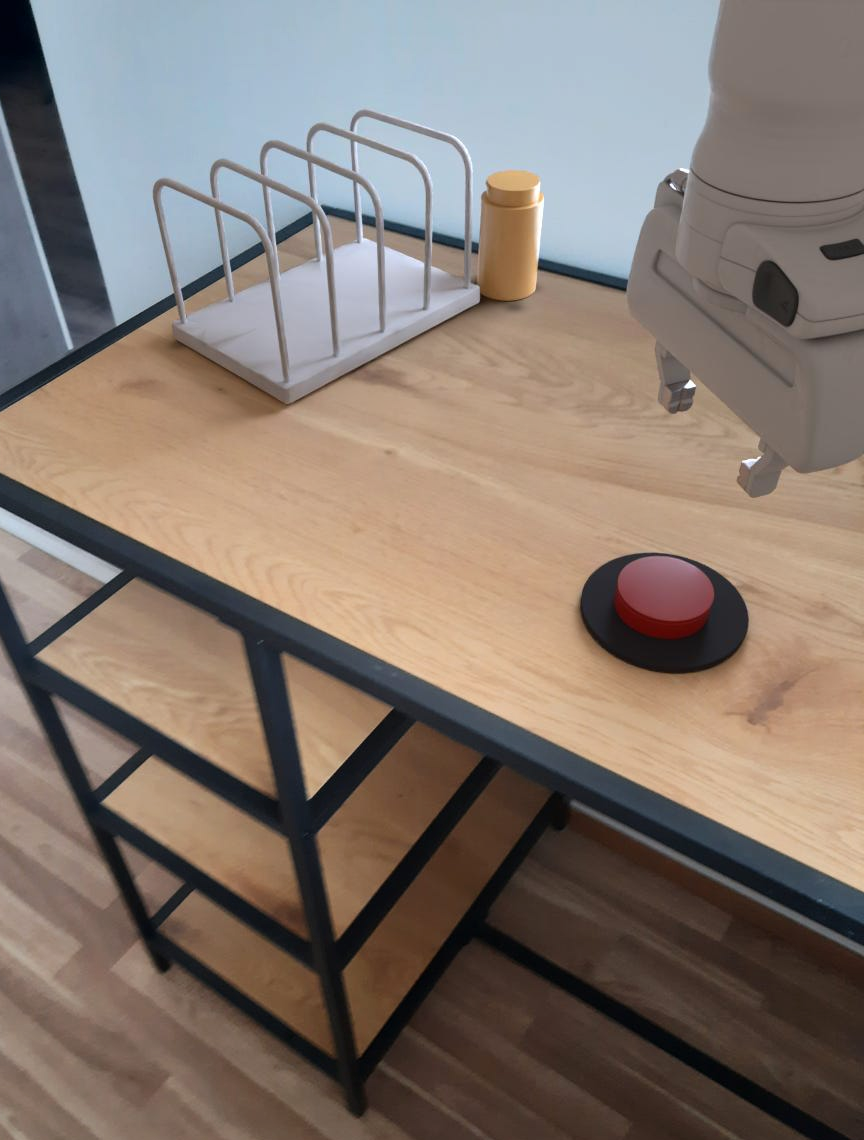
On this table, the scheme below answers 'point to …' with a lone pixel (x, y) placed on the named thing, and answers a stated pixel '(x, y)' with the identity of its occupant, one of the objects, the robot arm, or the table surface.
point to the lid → (663, 597)
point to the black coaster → (655, 653)
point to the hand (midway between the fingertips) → (711, 446)
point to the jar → (509, 235)
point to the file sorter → (322, 280)
